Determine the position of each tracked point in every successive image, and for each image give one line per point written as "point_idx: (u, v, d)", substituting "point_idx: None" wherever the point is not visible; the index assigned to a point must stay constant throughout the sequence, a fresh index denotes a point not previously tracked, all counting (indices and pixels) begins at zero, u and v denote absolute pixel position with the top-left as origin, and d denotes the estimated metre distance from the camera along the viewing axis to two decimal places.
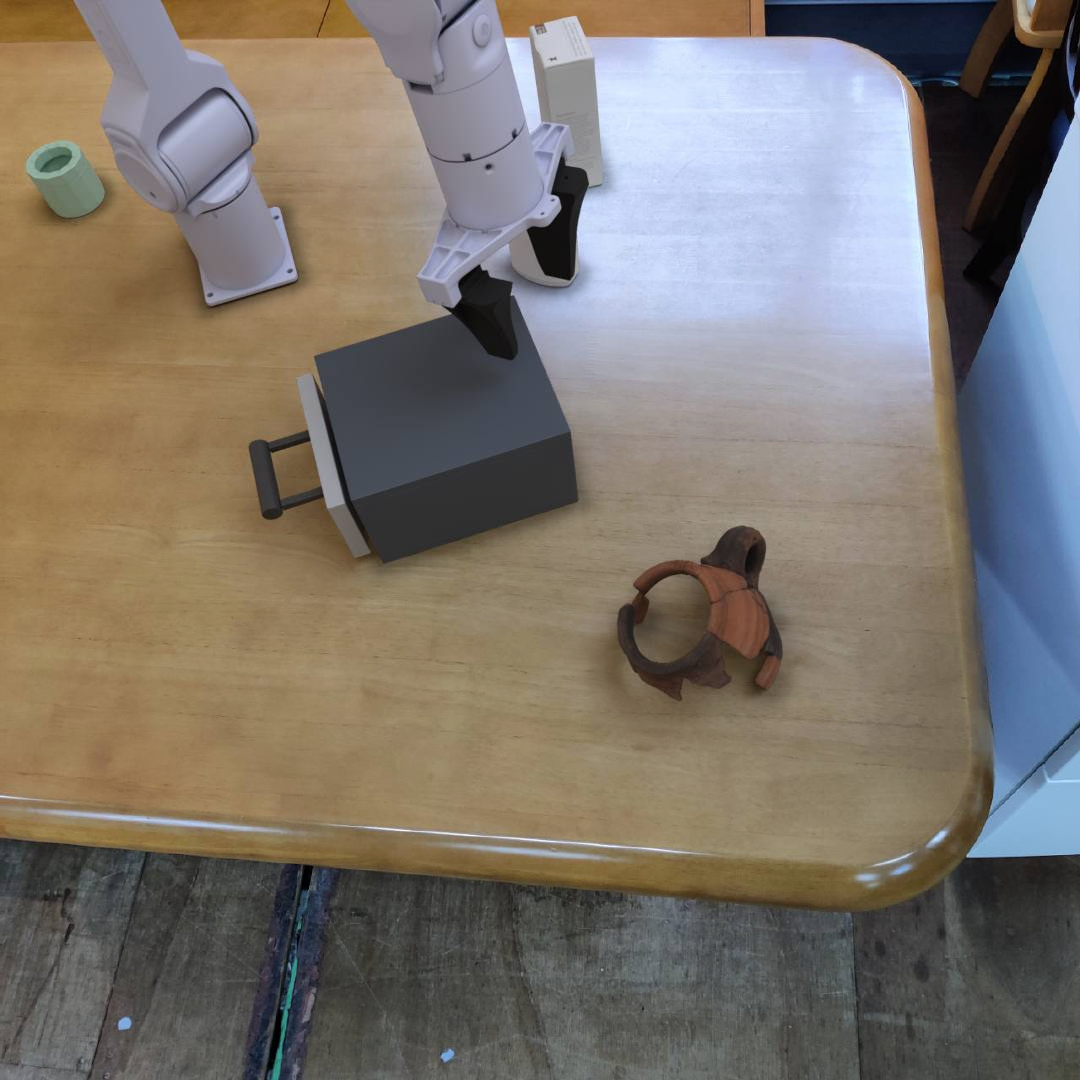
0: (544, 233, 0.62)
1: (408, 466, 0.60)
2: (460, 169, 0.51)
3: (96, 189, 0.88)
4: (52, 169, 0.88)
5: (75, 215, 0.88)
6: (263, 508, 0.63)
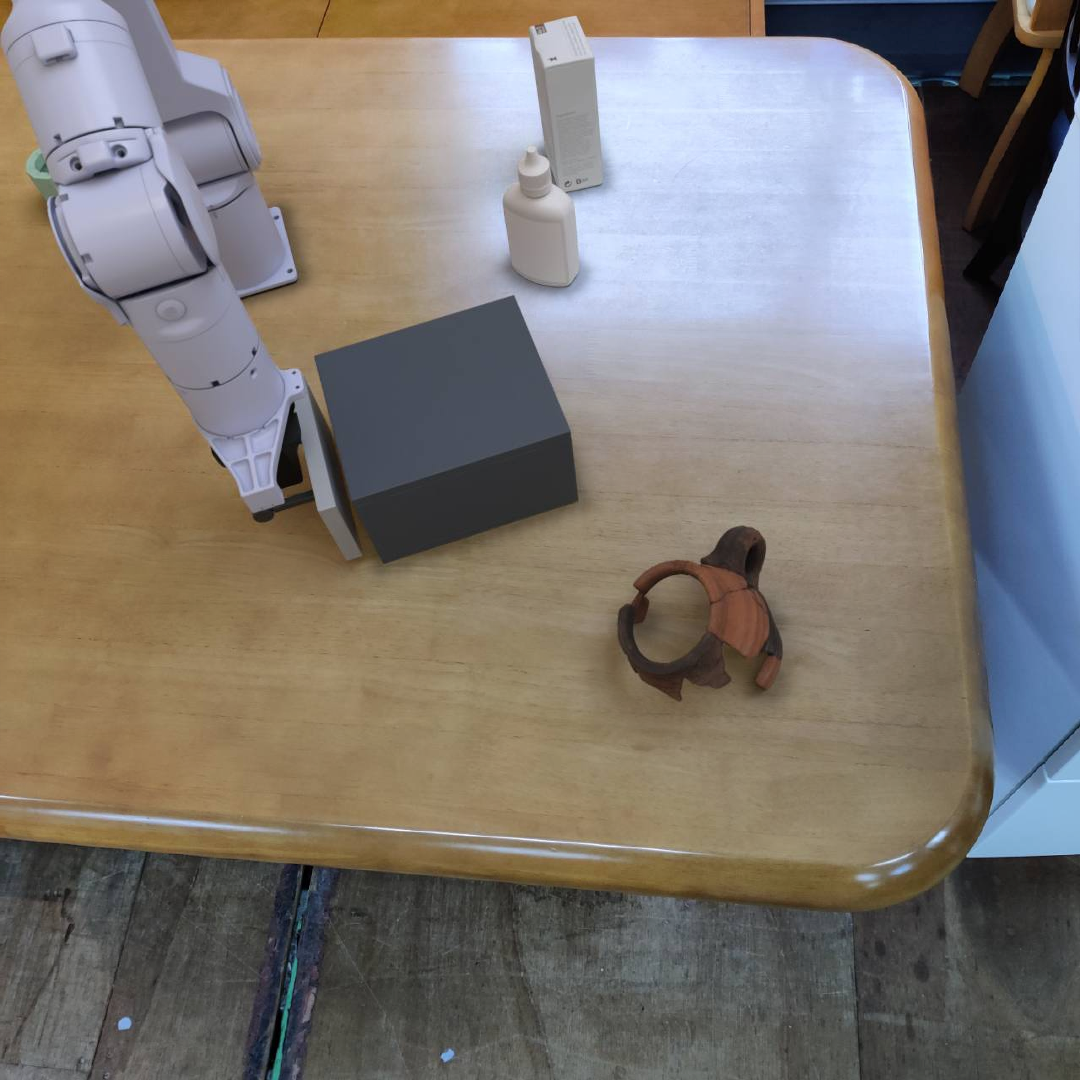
0: None
1: (408, 466, 0.60)
2: (231, 386, 0.53)
3: None
4: None
5: None
6: None
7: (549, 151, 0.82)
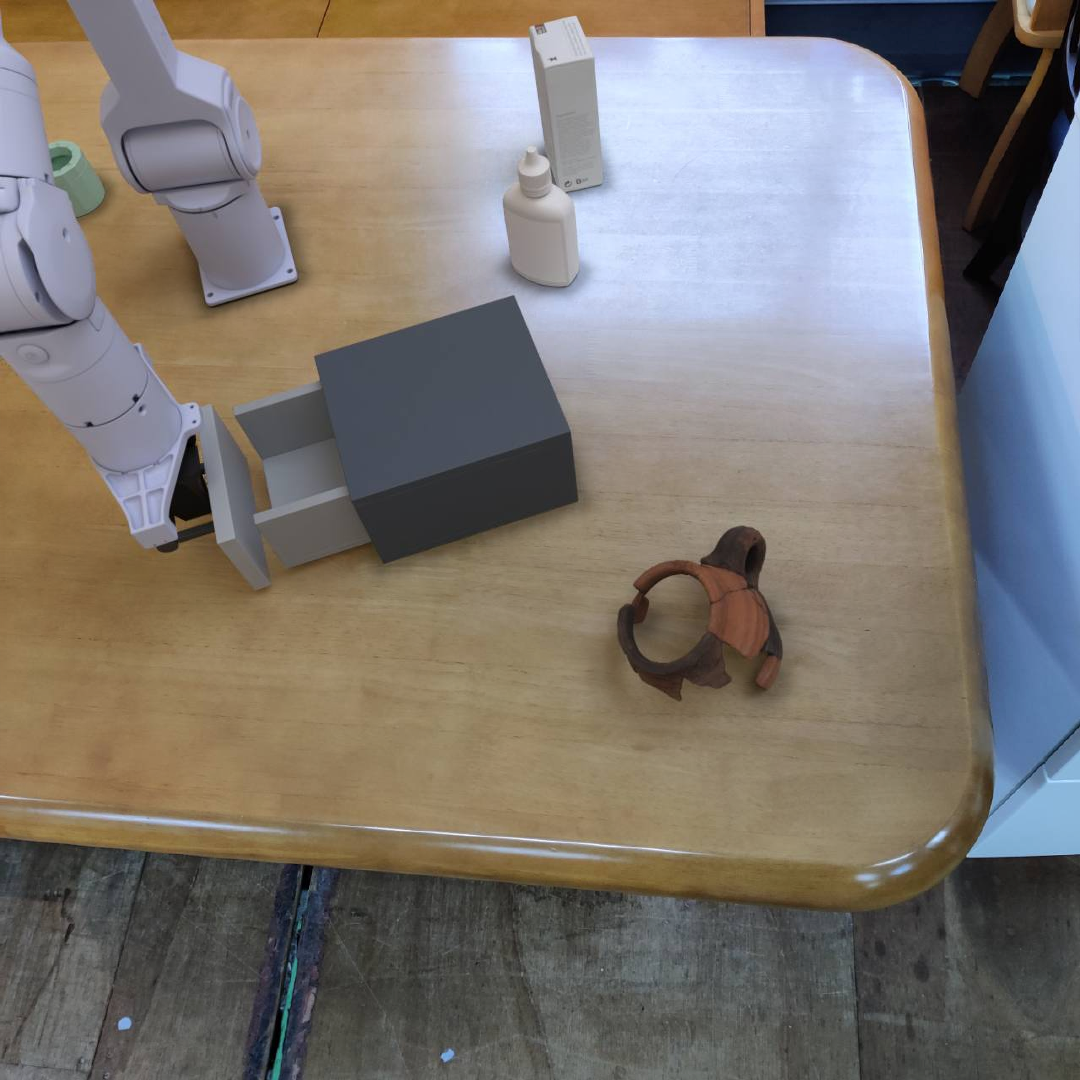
0: None
1: (408, 466, 0.60)
2: (118, 424, 0.53)
3: (96, 189, 0.88)
4: None
5: (75, 215, 0.88)
6: None
7: (549, 151, 0.82)
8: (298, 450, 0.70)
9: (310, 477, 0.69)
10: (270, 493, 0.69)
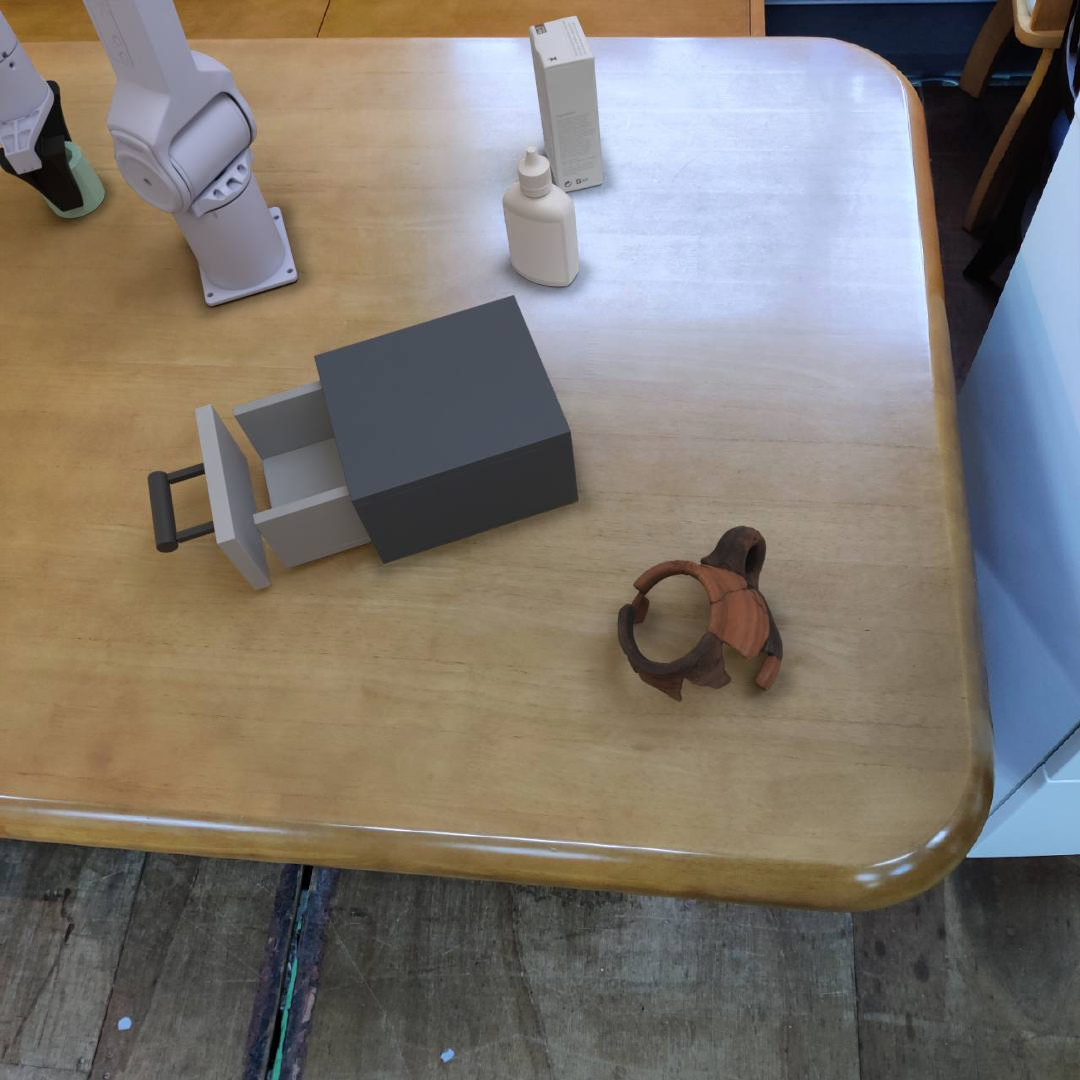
0: None
1: (408, 466, 0.60)
2: None
3: (96, 189, 0.88)
4: None
5: (75, 215, 0.88)
6: (157, 542, 0.63)
7: (549, 151, 0.82)
8: (298, 450, 0.70)
9: (310, 477, 0.69)
10: (270, 493, 0.69)
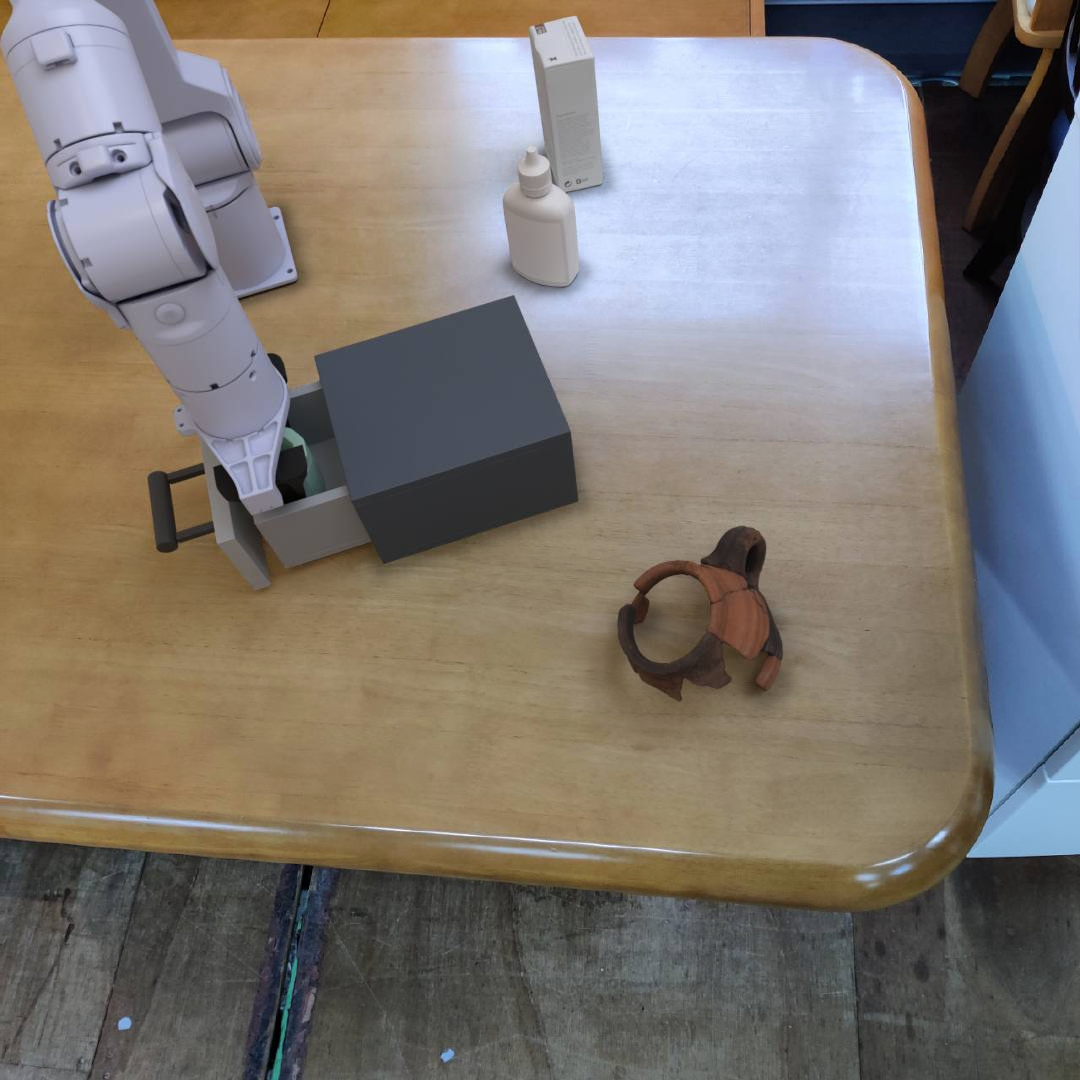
0: None
1: (408, 466, 0.60)
2: None
3: (318, 486, 0.66)
4: None
5: None
6: (157, 542, 0.63)
7: (549, 151, 0.82)
8: None
9: None
10: None
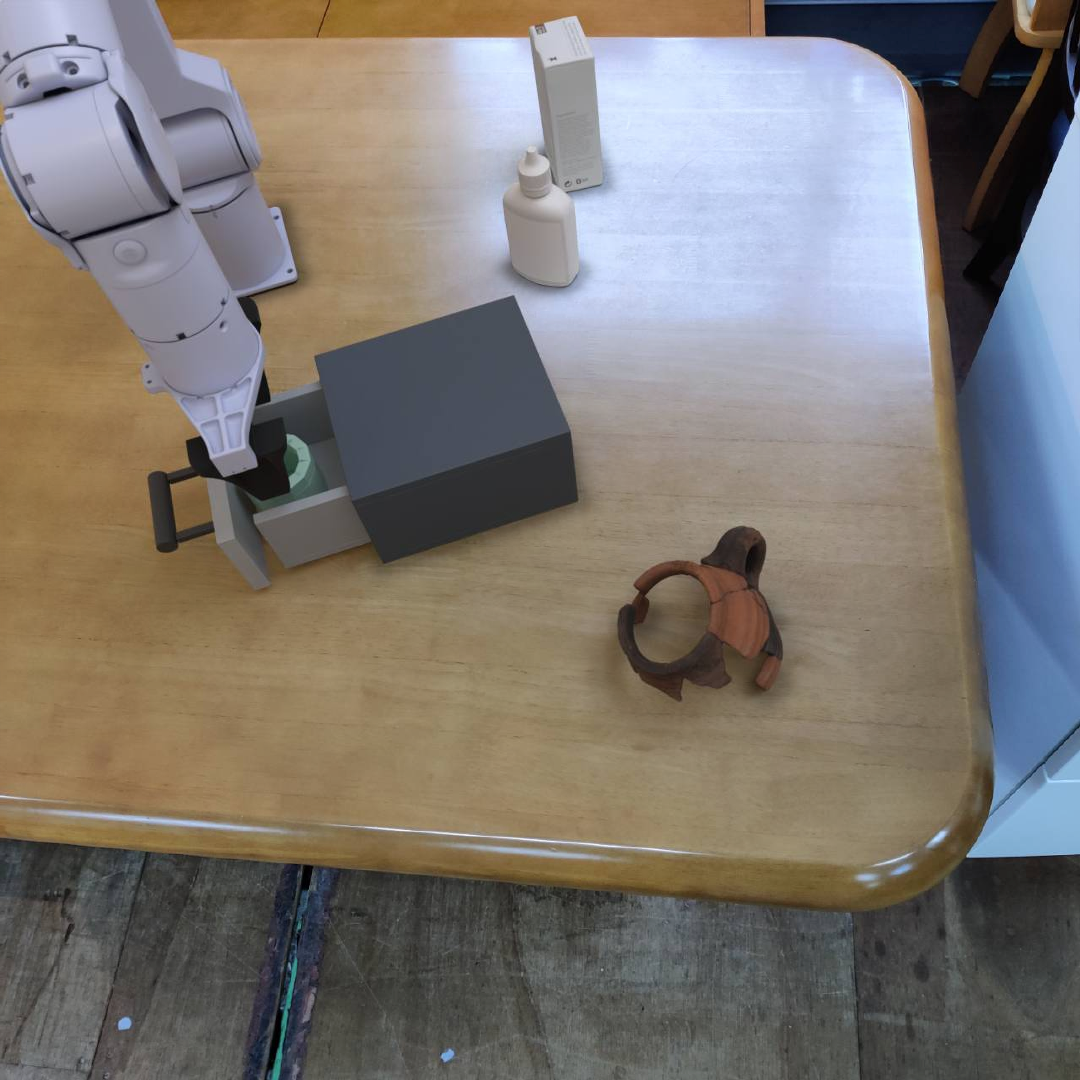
0: None
1: (408, 466, 0.60)
2: None
3: (322, 492, 0.67)
4: None
5: None
6: (157, 542, 0.63)
7: (549, 151, 0.82)
8: None
9: None
10: None
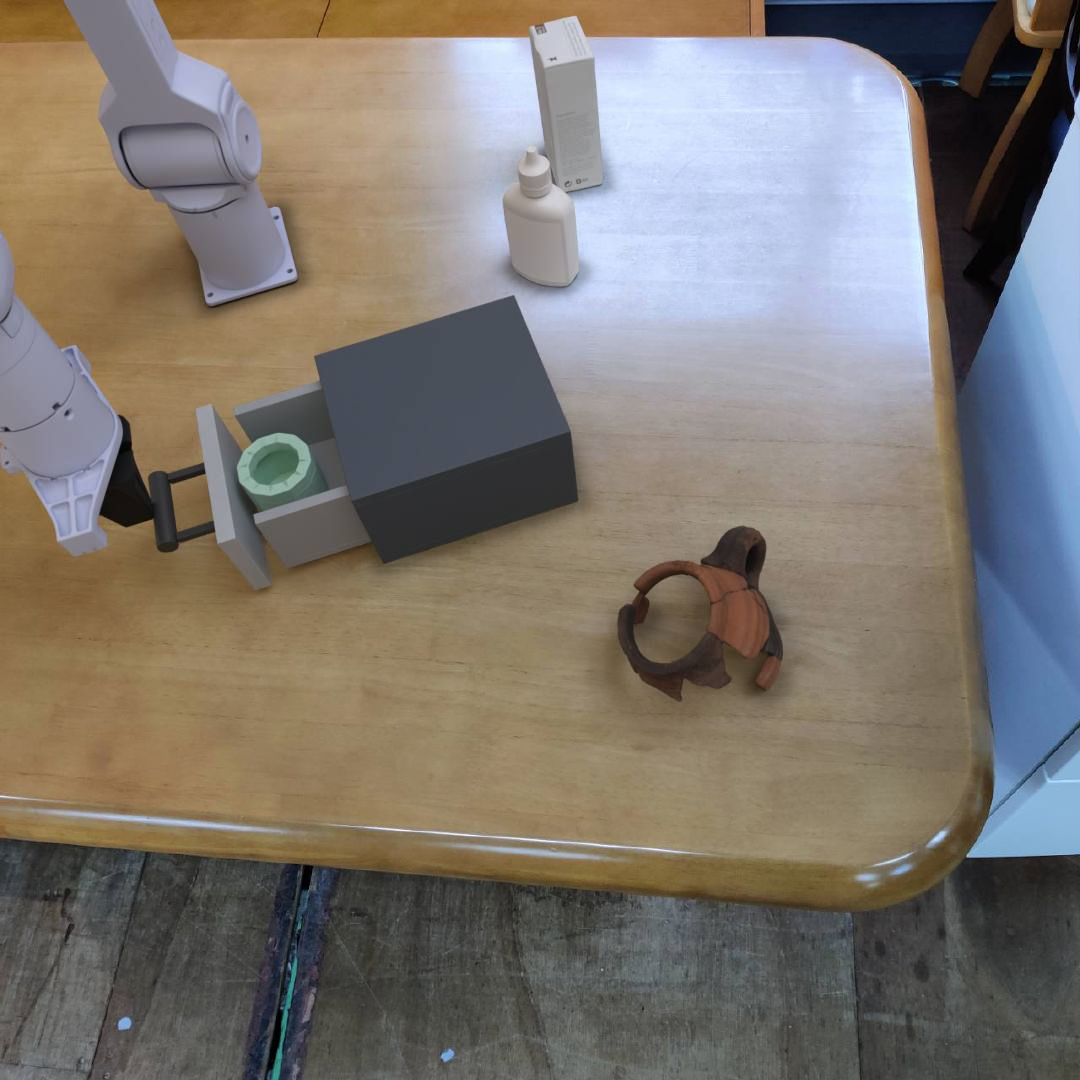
0: None
1: (408, 466, 0.60)
2: None
3: (322, 492, 0.67)
4: (264, 465, 0.67)
5: None
6: (158, 542, 0.63)
7: (549, 151, 0.82)
8: None
9: None
10: None
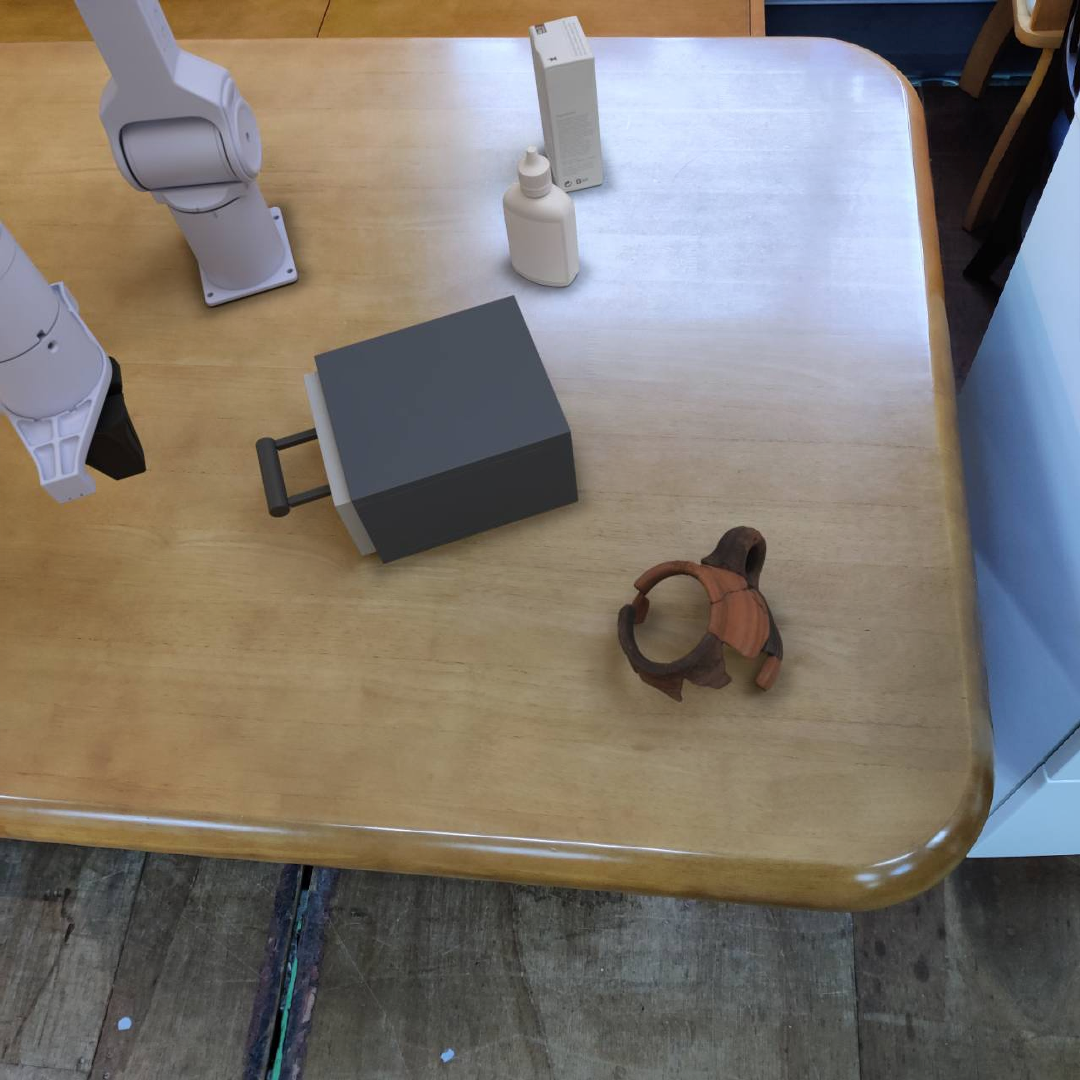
0: None
1: (408, 466, 0.60)
2: None
3: None
4: None
5: None
6: (270, 506, 0.63)
7: (549, 151, 0.82)
8: None
9: None
10: None
